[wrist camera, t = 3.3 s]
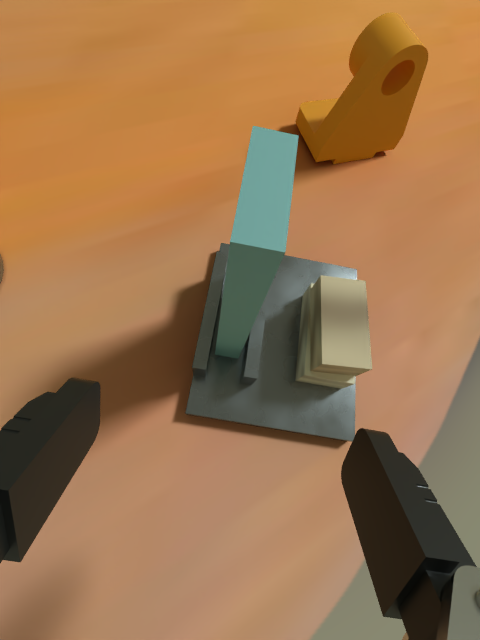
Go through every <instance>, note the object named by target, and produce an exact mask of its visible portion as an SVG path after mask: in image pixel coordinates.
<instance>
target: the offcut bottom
mask: <svg viewBox="0 0 480 640" xmlns="http://www.w3.org/2000/svg"><path fill="white" fill-rule="evenodd" d="M313 285H314V284H313V283H311V284H310V286H309V287H308V289H307V290H306V291H305V293H304V294H303V296H302V308H301V320H300V331H299V343H298V355H297V367H296V378H295V381H300V382H306V383H312V384H317V385H323V386H329V387H334V388H340V389H342V388H345V387H348V386H351V385H354V384H355V376H352V375H342V374H333V373H324V372H314V371H310V289H311V288H312V287H313Z"/></svg>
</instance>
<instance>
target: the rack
mask: <svg viewBox="0 0 480 640" xmlns="http://www.w3.org/2000/svg"><path fill="white" fill-rule="evenodd" d="M229 247H230V245H229V244H224V243H221V246H220V251H219V252H217V253H216V258H215V262H214V267H213V272H212V276H211V281H210V286H209V290H208V295H207V300H206V305H205V309H204V314H203V319H202V323H201V328H200V333H199V337H198V342H197V347H196V352H195V356H194V361H193V366H192V370H193V379H192V384H191V389H190V394H189V399H188V403H187V408H186V414H187V415H193V416H199V417H205V418H211V419H217V420H223V421H229V422H235V423H241V424H247V425H253V426H259V427H265V428H271V429H277V430H283V431H289V432H295V433H301V434H307V435H313V436H319V437H325V438H331V439H337V440H343V441H353V439H354V437H355V384H354V385H351V386H348V387H345V388H342V389H340V388H334V387H329V386H323V385H317V384H312V383H306V382H300V381H295V378H296V367H297V355H298V343H299V331H300V320H301V308H302V296H303V294H304V293H305V291H306V290H307V289H308V287H309V286H310V284H311V283H313V284H315V282H316V281H317V280H318V278H319V277H320V275H323V276H331V277H339V278H346V279H354V280H357V269H353V268H347V267H342V266H337V265H332V264H327V263H322V262H317V261H311V260H306V259H301V258H296V257H291V256H286V255H284V256H283V259H282V261H281V263H280V265H279V268H278V270H277V272H276V274H275V277H274V279H273V281H272V284H271V286H270V288H269V290H268V293H267V295H266V297H265V299H264V302H263V304H262V306H261V308H260V311H259V313H258V315H257V318H256V320H255V322H254V324H253V327H252V329H251V331H250V333H249V336H248V338H247V340H246V342H245V345H244V347H243V349H242V351H241V354H240V356H239V358H238V359H237V358H232V357H226V356H220V355H215V350H216V342H217V335H218V328H219V320H220V313H221V306H222V298H223V291H224V284H225V276H226V269H227V262H228V254H229Z"/></svg>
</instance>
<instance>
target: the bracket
mask: <svg viewBox="0 0 480 640" xmlns="http://www.w3.org/2000/svg"><path fill="white" fill-rule="evenodd" d="M427 62H428V51H427V49H426V48H425V46H424V45H423V44H422V43H421V41H420V40H419V39H418V38H417V36H416V35H415V34H414V33H413V31H412V30H411V29H410V27H409V26H408V25H407V24H406V22H405V21H404V20H403V19H402V17H401V16H400V15H399V14H397V13H386V14H383V15H381V16H379V17H378V18H376V19H375V20H373V21H372V22H371V23H370V24H369V25H368V26H367V27H366V28H365V29H364V30H363V31H362V33H361V34H360V35H359V37H358V39H357V40H356V42H355V44H354V46H353V48H352V51H351V54H350V59H349V67H350V71H351V73H352V74H353V76H354V78H353V79H352V80H351V82H350V83H349V85H348V86H347V88H346V89H345V91H344V92H343V93H342V95H341V96H340V98H336V99H328V100H320V101H311V102H304V103H302V104H301V105H300V109H299V112H298V115H297V119H296V125H297V127H298V128H299V130H300V132H301V134H302V136H303V138H304V140H305V142H306V144H307V146H308V148H309V150H310V152H311V153H312V155H313V157H314V159H315V161H316V162H320V161H326V160H331V161H332V163H333V164H337V163H343V162H349V161H355V160H361V159H367V158H373V156H374V155H375V153H376V152H380V151H386V150H392V149H394V148H395V147H396V145H397V144H398V142H399V141H400V139H401V138H402V136H403V134H404V131H405V128H406V125H407V122H408V119H409V116H410V113H411V110H412V107H413V104H414V101H415V98H416V95H417V92H418V89H419V86H420V83H421V80H422V77H423V74H424V71H425V68H426V65H427Z"/></svg>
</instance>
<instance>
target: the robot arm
mask: <svg viewBox="0 0 480 640" xmlns="http://www.w3.org/2000/svg"><path fill="white" fill-rule="evenodd" d="M3 271H4V269H3V260H2V257H1V255H0V283H1V281H2V276H3ZM99 425H100V384H99V382H96V381H90V380H84V379H78V378H70V379H69V380H68V381H67V382H66V383H65V384H64V385H63V386H62V387H61V388H60V389H59V390H58V391H57V392H56V393H52V392H46V393H44V394H42V395H41V396H39V397H37V398H35V399H33V400H31V401H29V402H28V403H27V404H26V405H25V406H24V407H23V408H22V409H21V410H20V411H19V412H18V413H17V414H16V415H15V416H14V418H13V419H10V420H9V421H8V422H7V423H6V424H5V425H4V426H3V427H2V429H1V431H0V563H1V561H2V560H8V561H15V562H21V561H22V559H23V557H24V556H25V554H26V552H27V551H28V549H29V547H30V546H31V544H32V543H33V541H34V539H35V538H36V536H37V534H38V533H39V531H40V529H41V528H42V526H43V525H44V523H45V521H46V520H47V518H48V516H49V515H50V513H51V511H52V510H53V508H54V507H55V505H56V503H57V502H58V500H59V498H60V497H61V495H62V493H63V492H64V490H65V489H66V487H67V485H68V484H69V482H70V480H71V479H72V477H73V475H74V474H75V472H76V471H77V469H78V467H79V466H80V464H81V462H82V461H83V459H84V457H85V456H86V454H87V453H88V451H89V449H90V448H91V446H92V444H93V443H94V441H95V438H96V436H97V433H98V430H99ZM341 479H342V485H343V488H344V491H345V494H346V498H347V501H348V504H349V507H350V511H351V514H352V517H353V520H354V524H355V527H356V530H357V533H358V537H359V540H360V543H361V546H362V550H363V553H364V556H365V559H366V563H367V566H368V569H369V572H370V575H371V579H372V581H373V585H374V588H375V592H376V595H377V598H378V601H379V605H380V607H381V611H382V614H383V616H384V617H390V618H397V619H402V620H403V623H404V626H405V629H406V633H405V635H404V636H403V639H402V640H480V568H477V566H476V565H475V563H474V562H473V560H472V558H471V557H470V555H469V553H468V552H467V550H466V548H465V547H464V545H463V543H462V542H461V540H460V538H459V537H458V535H457V533H456V531H455V530H454V528H453V526H452V525H451V523H450V521H449V520H448V518H447V517H446V515H445V513H444V511H443V510H442V508H441V506H440V505H439V504H437V499H436V498H435V496H434V495H433V493H432V491H431V490H430V489H428V484H427V483H426V481H425V480H424V478H423V476H422V474H421V473H420V471H419V469H418V468H417V467H416V466H415V465H414V464H413V463H412V462H411V461H410V460H409V459H408V458H407V457H406V456H405V455H404V454H403V453H400V452H398V450H397V449H396V447H395V445H394V443H393V441H392V440H391V438H390V436H389V435H388V434H387V433H385V432H381V431H375V430H369V429H363V428H361V429H359V430H358V431H357V433H356V435H355V437H354V439H353V442H352V444H351V446H350V448H349V451H348V453H347V455H346V457H345V459H344V462H343V465H342V471H341Z"/></svg>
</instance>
